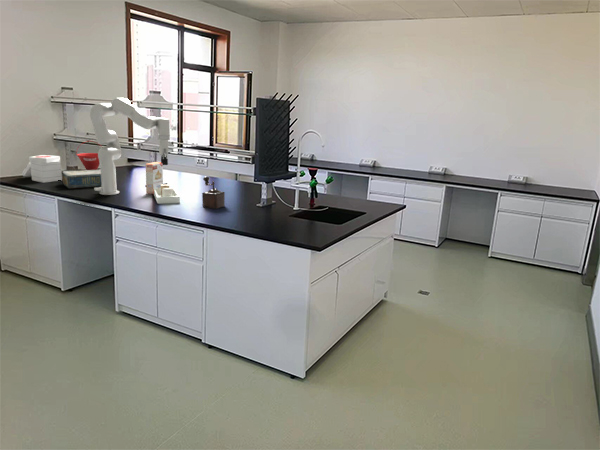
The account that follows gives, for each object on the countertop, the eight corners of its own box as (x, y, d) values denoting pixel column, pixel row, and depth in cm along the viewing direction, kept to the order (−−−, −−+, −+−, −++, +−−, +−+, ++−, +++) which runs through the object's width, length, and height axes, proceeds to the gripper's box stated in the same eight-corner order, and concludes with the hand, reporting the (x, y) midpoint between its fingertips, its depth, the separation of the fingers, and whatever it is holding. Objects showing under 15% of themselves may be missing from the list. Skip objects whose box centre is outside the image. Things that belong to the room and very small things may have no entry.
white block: (163, 202, 293) (162, 189, 291) (162, 200, 298) (161, 188, 296) (173, 201, 295) (173, 189, 293) (172, 199, 301) (171, 187, 299)
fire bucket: (78, 180, 355) (75, 141, 347) (76, 176, 372) (73, 139, 364) (108, 179, 366) (106, 141, 358) (105, 176, 382) (103, 139, 374)
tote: (157, 205, 289) (157, 197, 288) (153, 195, 315) (153, 188, 314) (179, 204, 294) (179, 196, 293) (174, 195, 320) (174, 188, 319)
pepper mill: (225, 206, 295) (225, 178, 290) (215, 209, 285) (215, 180, 281) (205, 203, 301) (205, 175, 297) (195, 206, 291) (195, 177, 287)
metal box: (115, 186, 344) (114, 172, 341) (67, 189, 325) (66, 175, 323) (108, 181, 360) (107, 168, 358) (62, 184, 342) (61, 170, 339)
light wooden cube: (161, 197, 306) (161, 185, 304) (160, 196, 310) (160, 184, 308) (169, 197, 308) (169, 185, 306) (168, 195, 312) (168, 184, 310)
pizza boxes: (43, 175, 370) (41, 153, 366) (66, 180, 355) (64, 156, 351) (19, 178, 355) (16, 154, 350) (41, 183, 340) (39, 158, 335)
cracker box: (154, 194, 320) (152, 164, 314) (146, 193, 321) (144, 163, 316) (163, 190, 333) (162, 162, 328) (156, 190, 334) (155, 161, 329)
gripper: (156, 136, 305) (157, 162, 310) (158, 138, 290) (159, 165, 294) (168, 136, 308) (168, 162, 312) (171, 138, 292) (171, 165, 297)
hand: (164, 163), depth 303 cm, fingers open, 9 cm apart
